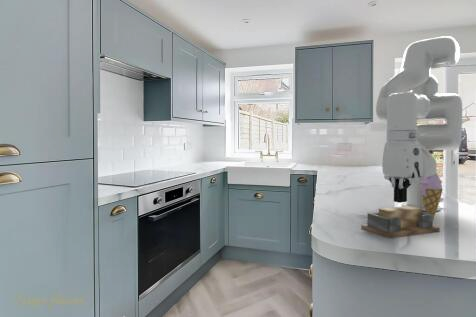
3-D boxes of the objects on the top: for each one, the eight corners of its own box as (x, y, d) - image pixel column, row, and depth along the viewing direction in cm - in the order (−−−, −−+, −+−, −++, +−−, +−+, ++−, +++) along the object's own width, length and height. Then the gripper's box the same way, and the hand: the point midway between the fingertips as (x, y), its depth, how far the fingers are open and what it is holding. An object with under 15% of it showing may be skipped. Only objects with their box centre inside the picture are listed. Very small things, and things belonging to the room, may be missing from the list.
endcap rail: (408, 222, 94) (408, 208, 94) (439, 231, 85) (440, 215, 85) (361, 228, 88) (361, 212, 88) (389, 237, 79) (389, 220, 79)
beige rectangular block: (410, 222, 90) (410, 205, 90) (421, 225, 87) (421, 208, 87) (378, 226, 86) (378, 208, 86) (388, 229, 83) (388, 211, 83)
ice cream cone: (433, 222, 94) (434, 174, 94) (413, 218, 100) (414, 172, 99) (445, 220, 97) (447, 173, 97) (426, 216, 103) (427, 171, 102)
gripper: (435, 136, 81) (434, 205, 82) (390, 137, 95) (389, 196, 96) (414, 137, 78) (413, 208, 79) (370, 137, 92) (370, 198, 94)
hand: (400, 201), depth 88 cm, fingers closed
